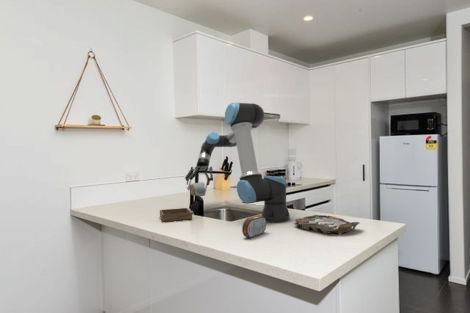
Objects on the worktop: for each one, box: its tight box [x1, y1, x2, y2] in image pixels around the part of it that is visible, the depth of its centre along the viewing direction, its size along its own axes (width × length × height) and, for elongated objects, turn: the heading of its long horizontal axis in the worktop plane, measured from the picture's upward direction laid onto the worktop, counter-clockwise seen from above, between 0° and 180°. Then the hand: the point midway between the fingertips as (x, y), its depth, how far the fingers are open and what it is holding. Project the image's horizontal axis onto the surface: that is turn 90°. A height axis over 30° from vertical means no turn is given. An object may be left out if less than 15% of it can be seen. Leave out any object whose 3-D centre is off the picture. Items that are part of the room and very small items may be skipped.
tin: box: [241, 214, 267, 239], centre depth 145 cm, size 15×3×8 cm, turn 141°
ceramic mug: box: [189, 181, 207, 197], centre depth 198 cm, size 11×8×8 cm
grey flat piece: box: [293, 214, 361, 235], centre depth 156 cm, size 30×22×5 cm
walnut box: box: [159, 207, 193, 223], centre depth 184 cm, size 16×16×4 cm
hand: (196, 188), depth 197 cm, fingers closed on ceramic mug, 10 cm apart
